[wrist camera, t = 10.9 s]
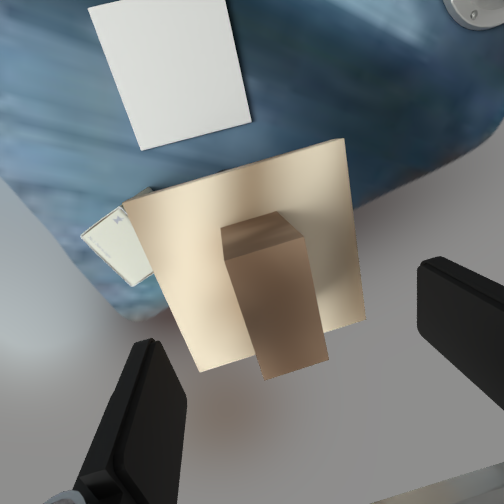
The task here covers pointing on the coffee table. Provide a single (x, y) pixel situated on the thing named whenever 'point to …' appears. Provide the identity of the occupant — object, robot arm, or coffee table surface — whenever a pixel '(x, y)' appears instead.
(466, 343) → the robot arm
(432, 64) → the coffee table surface
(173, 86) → the mat
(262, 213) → the lid
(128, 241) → the skincare box
